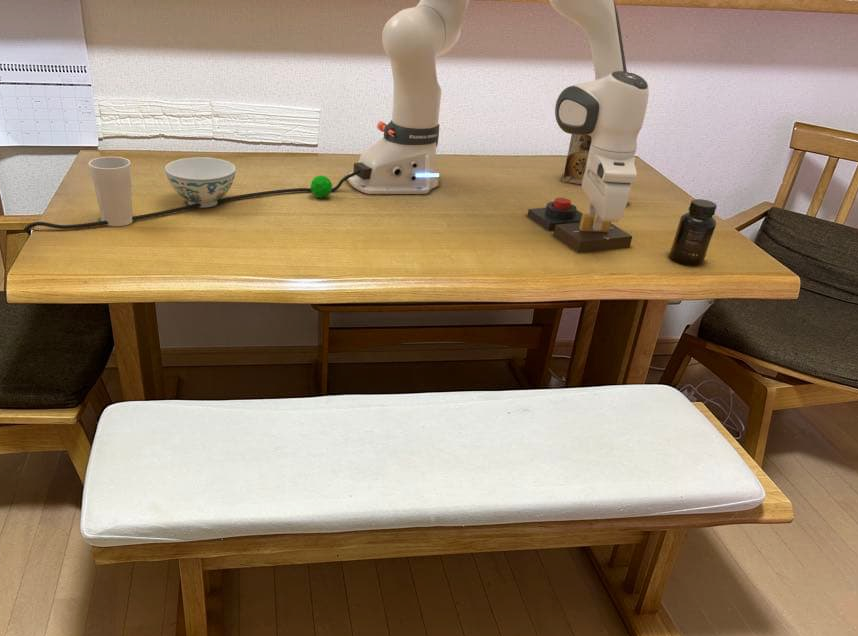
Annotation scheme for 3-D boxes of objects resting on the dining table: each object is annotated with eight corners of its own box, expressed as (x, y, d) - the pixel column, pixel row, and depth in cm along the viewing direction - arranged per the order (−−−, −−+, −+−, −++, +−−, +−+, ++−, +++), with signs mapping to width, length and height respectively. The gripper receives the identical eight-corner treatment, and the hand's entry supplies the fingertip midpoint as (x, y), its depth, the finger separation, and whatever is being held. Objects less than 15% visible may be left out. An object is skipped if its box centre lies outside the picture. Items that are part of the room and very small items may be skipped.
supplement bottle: (710, 262, 155) (729, 206, 148) (689, 268, 152) (707, 211, 145) (683, 250, 160) (700, 195, 153) (661, 256, 156) (678, 199, 149)
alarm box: (548, 230, 165) (551, 215, 163) (527, 216, 172) (529, 201, 170) (590, 226, 168) (593, 211, 166) (568, 212, 175) (571, 197, 173)
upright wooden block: (581, 231, 158) (584, 215, 157) (578, 228, 160) (582, 212, 158) (608, 231, 159) (612, 216, 157) (606, 229, 160) (609, 213, 158)
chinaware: (250, 204, 168) (249, 169, 164) (195, 219, 159) (192, 183, 154) (209, 186, 176) (207, 153, 172) (154, 200, 167) (151, 165, 162)
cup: (101, 229, 152) (92, 170, 145) (93, 216, 157) (85, 158, 150) (141, 224, 155) (134, 166, 148) (132, 211, 160) (125, 154, 154)
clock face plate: (578, 253, 155) (581, 241, 153) (552, 235, 163) (554, 223, 161) (630, 248, 159) (633, 236, 158) (602, 230, 167) (605, 218, 165)
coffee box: (599, 180, 196) (614, 116, 187) (597, 187, 191) (612, 122, 182) (564, 174, 199) (577, 111, 189) (561, 181, 194) (574, 116, 184)
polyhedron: (314, 201, 172) (314, 180, 169) (307, 194, 175) (307, 173, 173) (334, 199, 173) (335, 179, 171) (327, 192, 177) (328, 172, 174)
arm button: (558, 211, 166) (560, 203, 165) (550, 205, 169) (551, 198, 168) (572, 210, 167) (574, 202, 166) (563, 204, 170) (565, 197, 169)
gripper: (582, 144, 159) (569, 208, 167) (607, 175, 143) (590, 244, 151) (612, 146, 160) (597, 209, 167) (639, 177, 143) (621, 246, 151)
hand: (594, 226), depth 159 cm, fingers closed on upright wooden block, 2 cm apart
